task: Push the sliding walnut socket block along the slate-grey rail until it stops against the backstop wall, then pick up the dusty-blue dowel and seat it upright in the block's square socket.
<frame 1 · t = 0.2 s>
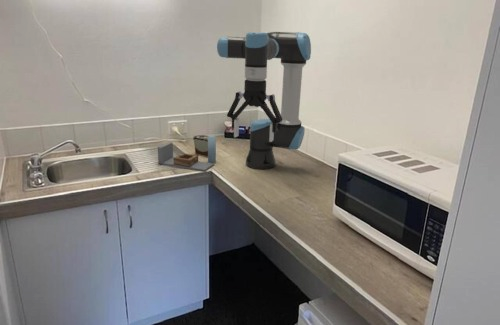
hand: (253, 138, 138), 28 cm above the worktop, fingers open, 13 cm apart
socket block: (186, 159, 190), point 3 cm above the worktop, slide at 0.0 cm
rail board: (186, 164, 191), on the worktop
food container: (205, 154, 208), on the worktop
dowel: (211, 162, 195), on the worktop
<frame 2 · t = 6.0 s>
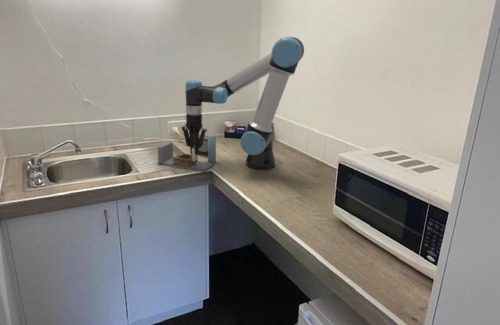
hand: (194, 160, 188), 3 cm above the worktop, fingers closed
socket block: (185, 159, 190), point 3 cm above the worktop, slide at 0.4 cm, touching gripper
everything else where it was.
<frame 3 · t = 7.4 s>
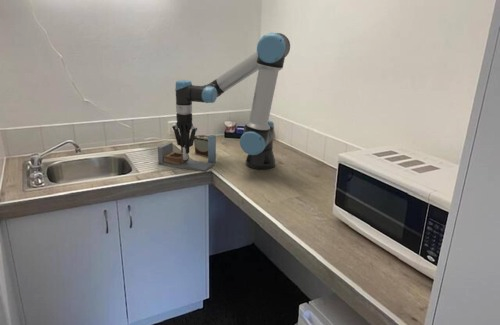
hand: (185, 159, 190), 3 cm above the worktop, fingers closed
socket block: (176, 158, 191), point 3 cm above the worktop, slide at 5.5 cm, touching gripper
everything else where it was.
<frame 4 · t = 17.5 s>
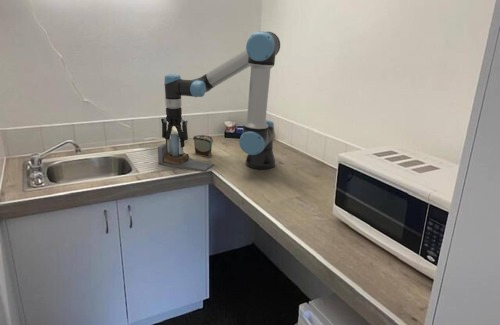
hand: (175, 152, 191), 6 cm above the worktop, fingers open, 6 cm apart
socket block: (176, 158, 191), point 3 cm above the worktop, slide at 5.5 cm
dowel: (175, 161, 192), point 1 cm above the worktop, touching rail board
everything else where it was.
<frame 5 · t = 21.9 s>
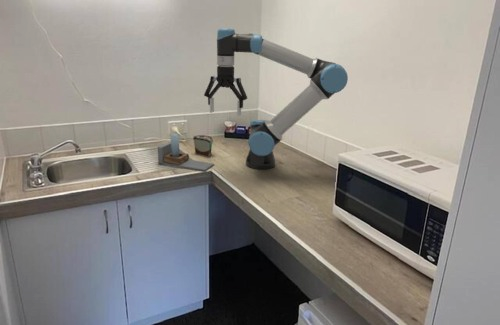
hand: (225, 113, 173), 29 cm above the worktop, fingers open, 13 cm apart
nothing on the worktop moved.
at the end: socket block slide at 5.5 cm; dowel 0.5 cm off-centre on the socket block, point 1.0 cm above the socket block's base; dowel tilted 1° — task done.
